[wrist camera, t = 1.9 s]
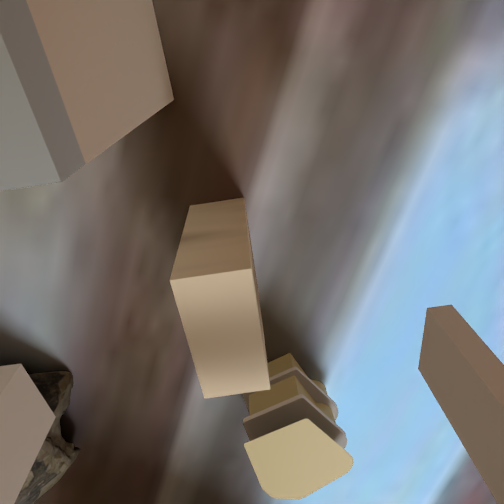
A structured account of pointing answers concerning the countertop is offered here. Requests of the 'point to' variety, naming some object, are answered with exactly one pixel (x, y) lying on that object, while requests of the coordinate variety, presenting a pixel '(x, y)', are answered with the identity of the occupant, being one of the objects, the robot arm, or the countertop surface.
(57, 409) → the fossil
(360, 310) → the countertop surface
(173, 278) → the tan rectangular block
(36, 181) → the slot box
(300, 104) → the countertop surface
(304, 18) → the countertop surface
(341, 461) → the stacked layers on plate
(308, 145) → the countertop surface
